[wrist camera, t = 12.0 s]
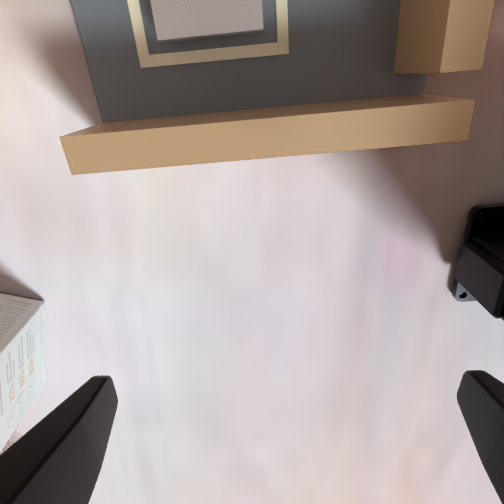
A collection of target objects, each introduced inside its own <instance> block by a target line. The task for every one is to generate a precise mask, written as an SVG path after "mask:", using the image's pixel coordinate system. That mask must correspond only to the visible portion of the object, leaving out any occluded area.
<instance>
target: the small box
mask: <svg viewBox="0 0 504 504" xmlns="http://www.w3.org/2000/svg"><path fill="white" fill-rule="evenodd" d="M44 306H45V304H44V302H43V301H39V300H34V299H28V298H23V297H18V296H13V295H8V294H2V293H0V452H1V451H2V449H3V448H4V446H5V445H6V443H7V442H8V440H9V439H10V437H11V435H12V434H13V432H14V431H15V429H16V428H17V426H18V425H19V423H20V422H21V420H22V419H23V417H24V415H25V414H26V412H27V411H28V409H29V408H30V406H31V405H32V403H33V402H34V400H35V399H36V397H37V396H38V394H39V392H40V391H41V389H42V388H43V386H44V385H45V383H46V352H45V309H44Z"/></svg>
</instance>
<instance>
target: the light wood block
mask: <svg viewBox="0 0 504 504" xmlns="http://www.w3.org/2000/svg"><path fill="white" fill-rule="evenodd" d="M150 2H151V7H152V13H153V18H154V24H155V29H156V35H157V40H158V41H161V42H163V43H172V42H182V41H191V40H201V39H210V38H220V37H229V36H239V35H248V34H258V33H263V29H264V28H263V12H262V0H150Z"/></svg>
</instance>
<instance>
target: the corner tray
mask: <svg viewBox="0 0 504 504" xmlns="http://www.w3.org/2000/svg"><path fill="white" fill-rule="evenodd" d="M71 4H72V8H73V11H74V15H75V19H76V23H77V26H78V30H79V34H80V38H81V41H82V45H83V49H84V53H85V57H86V60H87V64H88V68H89V72H90V75H91V79H92V83H93V87H94V90H95V94H96V98H97V102H98V105H99V109H100V113H101V117H102V120H103V123H101V124H98V125H95V126H92V127H89V128H86V129H83V130H79V131H76V132H73V133H70V134H67V135H64V136H61V137H60V140H61V143H62V147H63V150H64V153H65V156H66V159H67V162H68V165H69V168H70V171H71V174H72V175H76V174H88V173H99V172H111V171H122V170H134V169H145V168H157V167H169V166H180V165H192V164H203V163H215V162H226V161H238V160H250V159H261V158H273V157H284V156H296V155H307V154H319V153H331V152H342V151H354V150H365V149H377V148H388V147H400V146H412V145H423V144H435V143H446V142H458V141H468V138H469V133H470V128H471V122H472V117H473V112H474V107H475V102H476V99H468V98H459V97H450V96H441V95H431V94H423V87H424V80H425V73H447V72H458V71H468V70H479V69H482V66H483V61H484V56H485V50H486V45H487V40H488V35H489V30H490V25H491V20H492V14H493V9H494V4H495V0H262V12H263V28H264V29H263V33H258V34H248V35H239V36H229V37H220V38H210V39H201V40H191V41H182V42H172V43H163V42H161V41H158V40H157V35H156V29H155V24H154V18H153V13H152V7H151V2H150V0H71Z"/></svg>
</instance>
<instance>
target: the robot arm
mask: <svg viewBox="0 0 504 504" xmlns="http://www.w3.org/2000/svg"><path fill="white" fill-rule="evenodd" d="M480 212H482V215H481V216H480V217H477V216H478V214H479V213H480ZM454 278H455V282H454V286H453V291H452V295H453V297H454V298H455V299H456V300H457V301H461V302H463V301H478V302H479V303H480V304H481V305H482V306H483V307H484V308H485V309H486V310H487V311H488V312H489V313H490V314H491V315H492V316H493V317H495V318H502V319H503V320H504V203H500V204H488V205H478V206H475V207H474V208H473V209H472V210H471V211H470V213H469V217H468V222H467V226H466V231H465V235H464V240H463V242H462V244H461V247H460V252H459V257H458V261H457V266H456V271H455V275H454ZM462 292H463V294H461V293H462ZM460 294H461V295H460ZM457 400H458V404H459V406H460V409H461V412H462V414H463V417H464V419H465V422H466V424H467V427H468V429H469V432H470V434H471V437H472V439H473V442H474V444H475V447H476V449H477V452H478V454H479V457H480V459H481V461H482V464H483V466H484V468H485V470H486V472H487V474H488V476H489V478H490V480H491V482H492V484H493V486H494V488H495V490H496V492H497V494H498V496H499V498H500V500H501V502H502V504H504V383H502V382H500V381H499V380H497V379H496V378H494V377H493V376H491V375H490V374H488V373H487V372H485V371H481V370H470V371H466V372H465V373H464V374H463V377H462V380H461V383H460V386H459V389H458V392H457ZM117 404H118V398H117V394H116V391H115V387H114V384H113V381H112V378H111V377H110V376H94V377H92V378H90V379H89V380H88V381H87V382H86V383H85V384H83V385H82V386H81V387H80V388H79V389H78V390H76V391H75V392H74V393H73V394H72V395H70V396H69V397H68V398H67V399H66V400H65V401H63V402H62V403H61V404H60V405H59V406H58V407H56V408H55V409H54V410H53V411H52V412H50V413H49V414H48V415H47V416H46V417H45V418H43V419H42V420H41V421H40V422H39V423H38V424H36V425H35V426H34V427H33V428H32V429H30V430H29V431H28V432H27V433H26V434H25V435H23V436H22V437H21V438H20V439H19V440H18V441H16V442H15V443H14V444H13V445H12V446H10V447H9V448H8V449H7V450H6V451H5V452H3V453H2V454H1V455H0V504H88V503H89V501H90V498H91V495H92V492H93V490H94V487H95V484H96V481H97V479H98V476H99V473H100V470H101V467H102V463H103V460H104V456H105V452H106V448H107V444H108V440H109V436H110V433H111V429H112V425H113V421H114V417H115V413H116V409H117Z"/></svg>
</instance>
